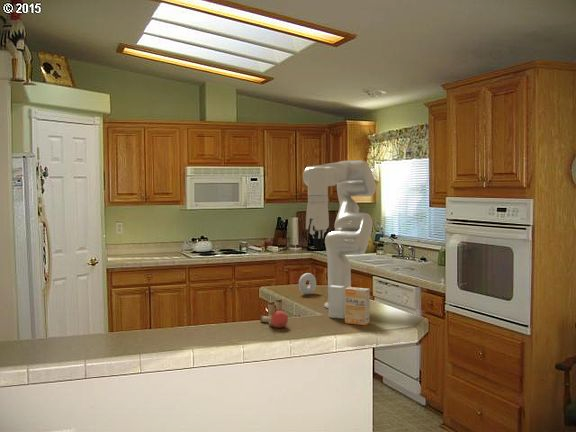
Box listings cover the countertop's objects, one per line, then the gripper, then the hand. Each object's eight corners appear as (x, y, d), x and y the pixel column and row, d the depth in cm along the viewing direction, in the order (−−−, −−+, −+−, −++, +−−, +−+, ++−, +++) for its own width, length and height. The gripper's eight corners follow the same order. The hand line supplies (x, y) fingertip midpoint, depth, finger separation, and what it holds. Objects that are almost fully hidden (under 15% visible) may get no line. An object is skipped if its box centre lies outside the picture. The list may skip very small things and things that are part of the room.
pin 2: (278, 321, 224) (278, 298, 223) (283, 322, 222) (283, 299, 222) (275, 323, 222) (274, 299, 221) (280, 323, 221) (279, 300, 220)
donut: (313, 292, 280) (312, 271, 279) (318, 293, 277) (317, 272, 277) (297, 295, 273) (296, 273, 273) (302, 296, 271) (301, 274, 270)
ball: (274, 305, 217) (290, 310, 216) (271, 319, 219) (287, 323, 219) (271, 314, 211) (287, 319, 211) (268, 328, 214) (284, 333, 213)
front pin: (282, 324, 220) (263, 321, 225) (282, 318, 220) (264, 315, 225) (278, 325, 218) (259, 322, 223) (279, 318, 218) (260, 315, 223)
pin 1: (270, 324, 220) (270, 301, 219) (276, 325, 218) (275, 301, 218) (267, 325, 218) (266, 302, 217) (272, 326, 216) (272, 302, 216)
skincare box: (347, 316, 230) (346, 285, 230) (342, 319, 226) (342, 287, 226) (332, 315, 233) (332, 284, 233) (327, 317, 229) (327, 286, 229)
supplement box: (344, 323, 220) (344, 288, 219) (349, 320, 224) (349, 286, 223) (365, 326, 216) (365, 290, 215) (370, 323, 220) (370, 287, 219)
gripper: (319, 199, 232) (319, 246, 233) (298, 200, 219) (299, 250, 220) (336, 199, 227) (336, 247, 229) (316, 201, 215) (317, 251, 216)
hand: (318, 248), depth 224 cm, fingers closed
